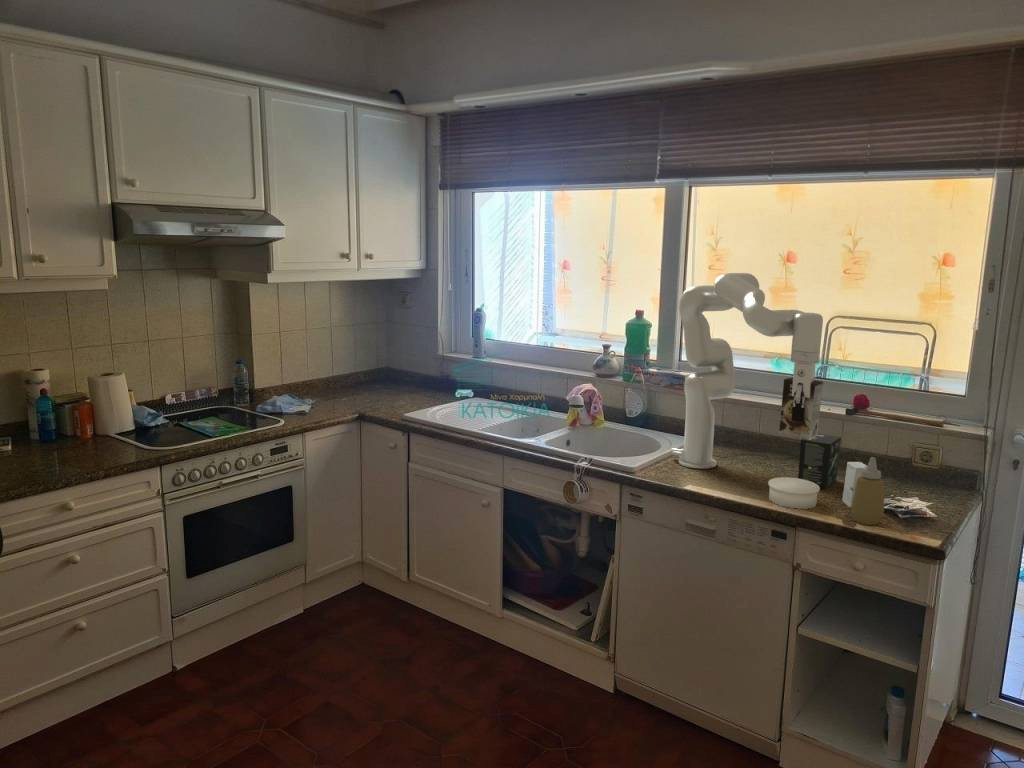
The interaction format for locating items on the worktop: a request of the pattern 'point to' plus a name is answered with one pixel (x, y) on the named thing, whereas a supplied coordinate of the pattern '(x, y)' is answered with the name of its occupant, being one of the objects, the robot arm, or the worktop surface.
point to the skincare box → (852, 480)
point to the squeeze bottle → (869, 496)
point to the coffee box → (811, 415)
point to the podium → (793, 492)
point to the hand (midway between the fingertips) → (799, 417)
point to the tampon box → (819, 459)
